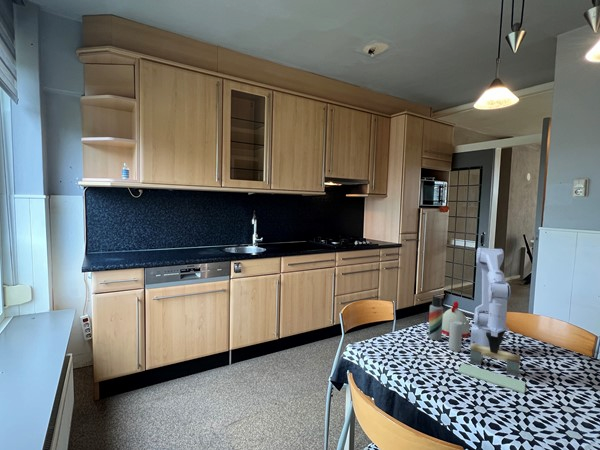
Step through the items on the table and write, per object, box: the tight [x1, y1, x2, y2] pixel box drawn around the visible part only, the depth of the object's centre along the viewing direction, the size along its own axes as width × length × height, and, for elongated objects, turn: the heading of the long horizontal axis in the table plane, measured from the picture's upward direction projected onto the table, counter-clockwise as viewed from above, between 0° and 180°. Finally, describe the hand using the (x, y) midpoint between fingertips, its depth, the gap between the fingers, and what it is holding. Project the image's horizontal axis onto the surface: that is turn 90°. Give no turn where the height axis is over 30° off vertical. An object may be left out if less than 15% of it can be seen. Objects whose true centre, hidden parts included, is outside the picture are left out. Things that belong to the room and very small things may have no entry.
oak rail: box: [470, 343, 522, 366], centre depth 118 cm, size 16×3×2 cm, turn 52°
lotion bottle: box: [427, 295, 444, 341], centre depth 144 cm, size 6×6×20 cm
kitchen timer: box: [442, 300, 471, 338], centre depth 152 cm, size 14×14×15 cm
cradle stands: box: [469, 348, 520, 378], centre depth 118 cm, size 16×5×5 cm, turn 52°
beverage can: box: [448, 321, 463, 353], centre depth 132 cm, size 5×5×12 cm
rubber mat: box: [457, 362, 526, 394], centre depth 111 cm, size 20×8×1 cm, turn 52°
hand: (495, 349), depth 118 cm, fingers open, 7 cm apart
